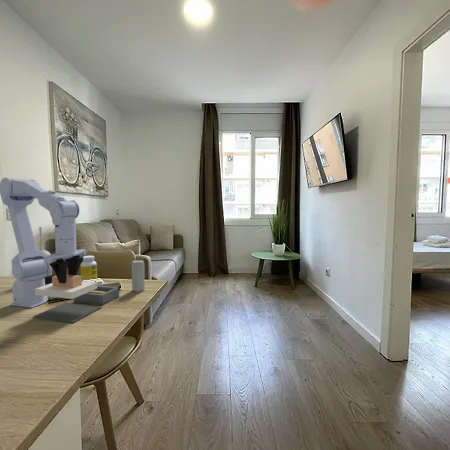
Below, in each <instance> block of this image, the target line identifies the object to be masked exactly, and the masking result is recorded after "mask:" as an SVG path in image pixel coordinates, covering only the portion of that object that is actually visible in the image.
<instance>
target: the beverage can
mask: <svg viewBox="0 0 450 450" xmlns="http://www.w3.org/2000/svg"><path fill="white" fill-rule="evenodd" d="M145 283H146V281H145V261H144V260H142V259H140V260H139V259H138V260H137V259H136V260H133V261H131V287H132V288H131V290H132V291H133V292H134V293H141V292H143V291H144V290H145V288H146V287H145Z"/></svg>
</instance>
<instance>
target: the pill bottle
mask: <svg viewBox="0 0 450 450" xmlns="http://www.w3.org/2000/svg"><path fill="white" fill-rule="evenodd" d="M82 257H83V261H82V262H81V264H80V276H82V281H83V280H90V279H97V280H98V267H97V266H98V263H97V261H95V255H83V256H82Z"/></svg>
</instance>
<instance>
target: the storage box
mask: <svg viewBox="0 0 450 450" xmlns="http://www.w3.org/2000/svg"><path fill="white" fill-rule="evenodd" d="M119 297H120V287H118V286H117V287H116V286H105V285H97V289H95V290H92V291H90V292H87V293H85V294H83V295H80V296H78V297H76V298H73V302H74V303H78V304H79V303H80V304H81V303H82V304H87V305H90V304H91V305H97V306H103V305H105V304H108V303H109V302H111V301H113V300H115V299H118V298H119Z"/></svg>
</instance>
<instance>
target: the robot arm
mask: <svg viewBox="0 0 450 450" xmlns="http://www.w3.org/2000/svg"><path fill="white" fill-rule="evenodd" d="M0 199H1V201H2V204H3V205H5V206H7V210H8V214H9V217H10V222H11V226H12V230H13V233H14V237H15V241H16V245H17V249H18V253H17V254H16V255H15V256H14V257H12V259H11V273H12V276H13V278H14V279H15V281H14V282H13V283H12V292H11V293H12V303H10V306H13V307H22V308H23V307H24V308H35V307H37V306H40V305H42V304H45V303H47V301H46V298H47V296H39V295H35V289H36V288H39V287H42V286H45V277H46V276H47V274H48V273H49V271H50V266H51V267H52V271H54V273H55V276H57V279H58V282H59V283H66V275H78V272H79V269H80V268H81V263H82V262H83V257H84V256H87V248H79V249H77V225H76V219H77V218H78V217H79V215H80V206H79V204H78V203H77V202H76V200H67V199H65V197H63V196H61V195H59V194H58V193H57V191H55V190H45V189H43V187H41V186H40V183H39V181H36V180H35V179H21V178H10V177H3V178H2V179H1V180H0ZM35 199H36V200H38V201H37V202H38V204H39V206H41V207H42V208H44V209H45V210H47V211H48V212H49V215H50V217H51V221H52V225H53V226H54V242H55V243H54V244H55V253H52V254H51V255H49V256H46V255H45V253H44V252H42V251H40V249H37V248H38V247H37V245H36V241H35V237H34V233H33V229H32V225H31V222H30V218H29V214H28V210H27V206H30V205H32V204H33V202H34V201H35Z"/></svg>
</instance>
